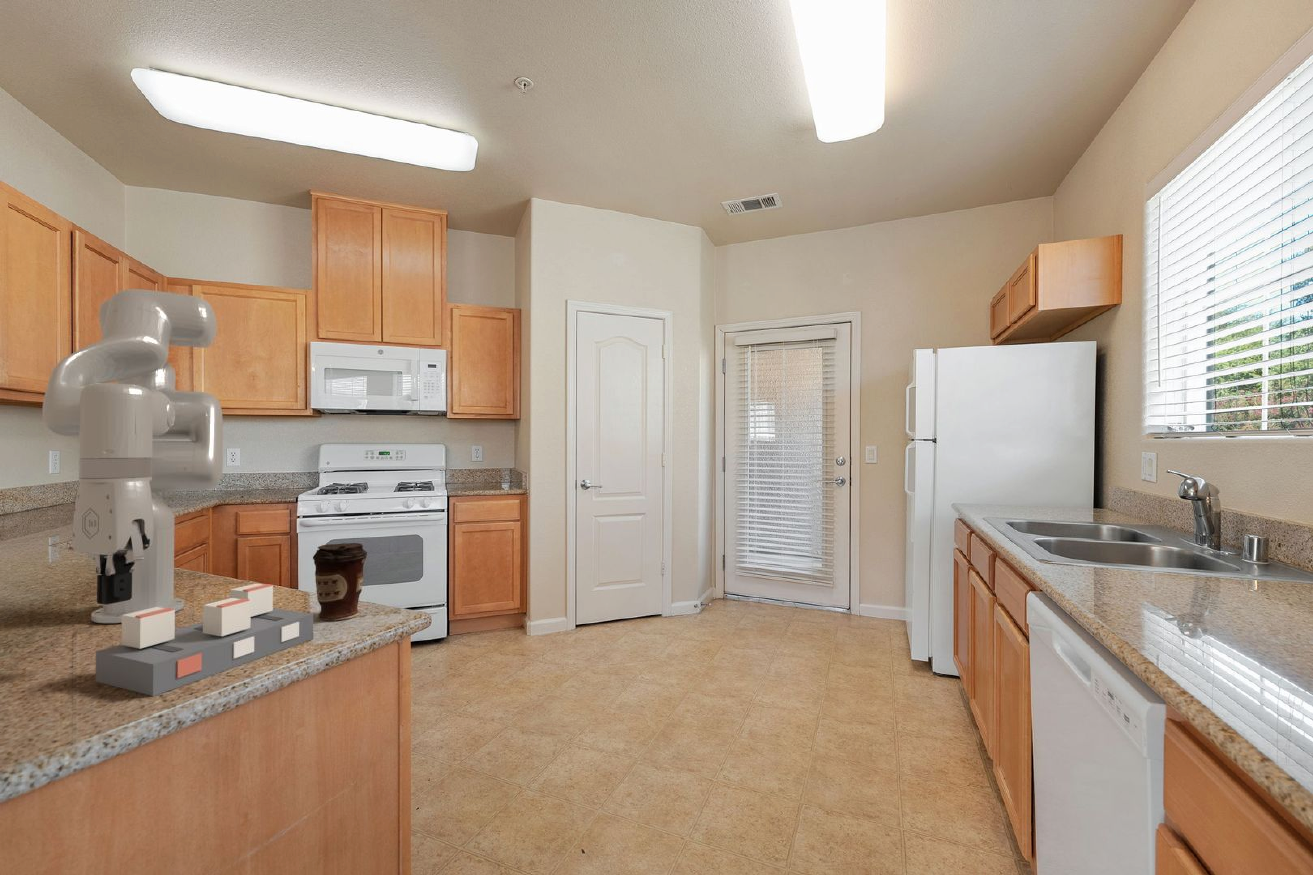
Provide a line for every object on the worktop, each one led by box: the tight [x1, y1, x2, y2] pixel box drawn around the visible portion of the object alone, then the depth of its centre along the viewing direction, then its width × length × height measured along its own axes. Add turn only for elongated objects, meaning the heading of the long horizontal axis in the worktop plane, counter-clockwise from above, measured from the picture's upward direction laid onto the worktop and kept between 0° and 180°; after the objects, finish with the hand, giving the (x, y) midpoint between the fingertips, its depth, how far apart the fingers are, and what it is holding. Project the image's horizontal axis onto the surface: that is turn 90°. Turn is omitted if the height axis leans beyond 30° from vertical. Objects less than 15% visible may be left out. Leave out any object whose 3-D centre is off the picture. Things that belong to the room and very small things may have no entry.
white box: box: [121, 607, 176, 649], centre depth 78 cm, size 4×4×4 cm
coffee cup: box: [312, 542, 368, 621], centre depth 103 cm, size 9×8×13 cm
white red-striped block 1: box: [202, 597, 251, 636], centre depth 83 cm, size 4×4×4 cm
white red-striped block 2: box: [229, 583, 274, 617], centre depth 91 cm, size 4×4×4 cm
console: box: [95, 607, 314, 697], centre depth 84 cm, size 12×22×4 cm, turn 160°
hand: (114, 601), depth 80 cm, fingers closed
